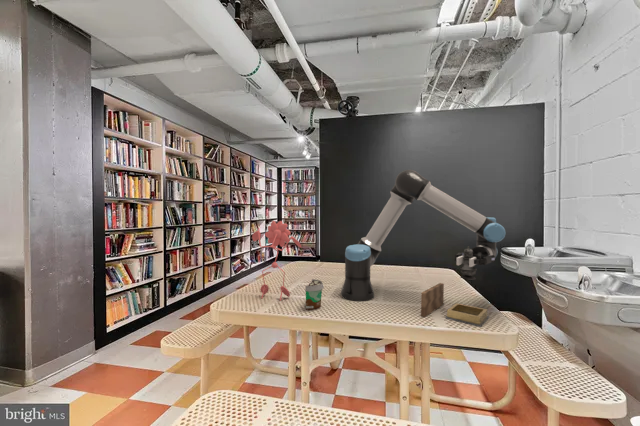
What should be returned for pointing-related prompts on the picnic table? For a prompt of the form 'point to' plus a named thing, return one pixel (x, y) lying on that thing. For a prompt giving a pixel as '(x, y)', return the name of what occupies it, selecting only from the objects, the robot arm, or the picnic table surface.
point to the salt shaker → (465, 268)
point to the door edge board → (432, 299)
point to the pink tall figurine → (276, 237)
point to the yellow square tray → (467, 314)
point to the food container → (314, 294)
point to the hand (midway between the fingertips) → (463, 262)
